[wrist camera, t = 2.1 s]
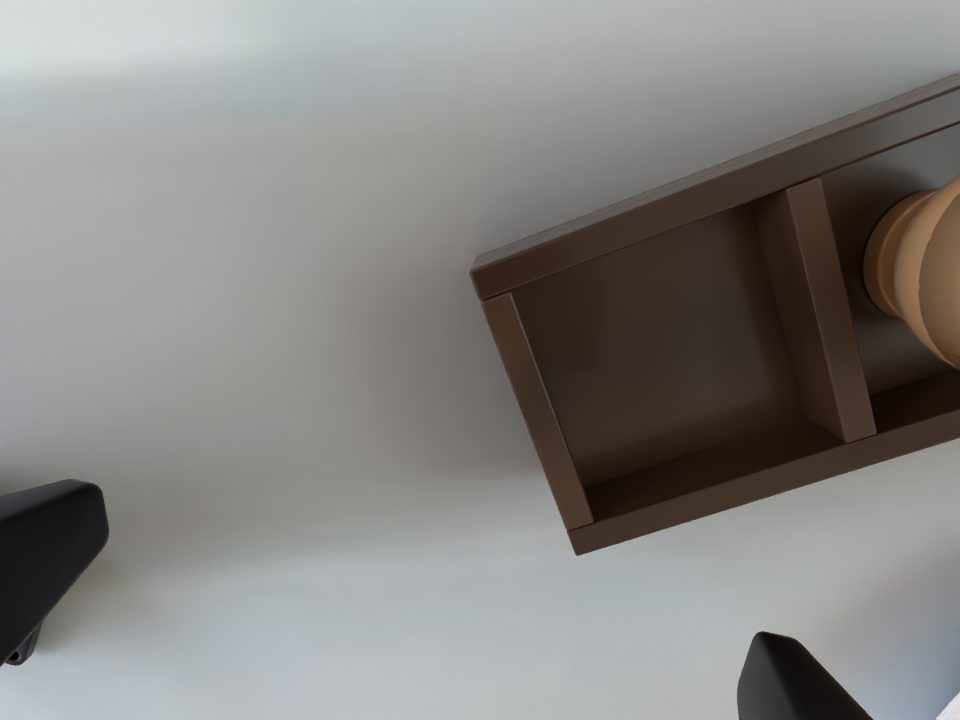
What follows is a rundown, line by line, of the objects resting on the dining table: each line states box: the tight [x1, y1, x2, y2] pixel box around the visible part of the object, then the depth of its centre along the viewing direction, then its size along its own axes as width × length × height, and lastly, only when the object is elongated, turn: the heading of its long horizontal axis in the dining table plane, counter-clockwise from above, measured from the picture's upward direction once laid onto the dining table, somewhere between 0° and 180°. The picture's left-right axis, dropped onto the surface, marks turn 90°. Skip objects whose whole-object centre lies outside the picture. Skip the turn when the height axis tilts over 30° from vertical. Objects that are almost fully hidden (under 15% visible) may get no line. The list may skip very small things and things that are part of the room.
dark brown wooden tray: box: [470, 73, 960, 556], centre depth 16 cm, size 8×16×5 cm, turn 111°
